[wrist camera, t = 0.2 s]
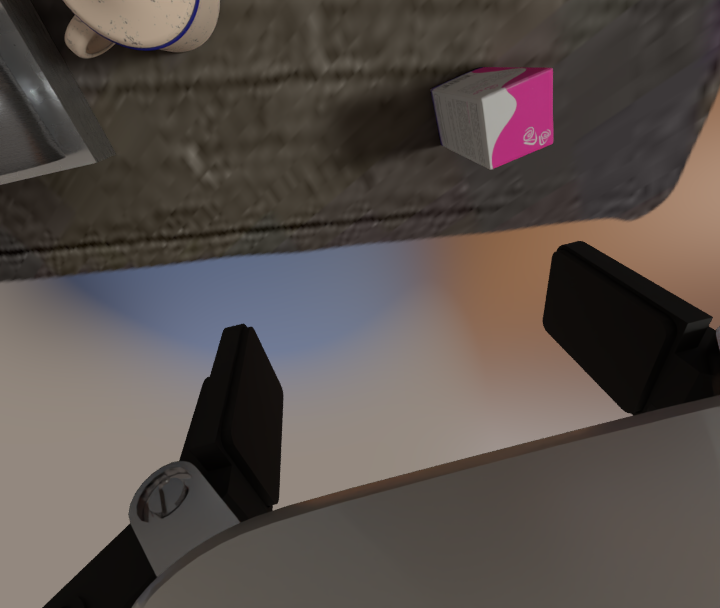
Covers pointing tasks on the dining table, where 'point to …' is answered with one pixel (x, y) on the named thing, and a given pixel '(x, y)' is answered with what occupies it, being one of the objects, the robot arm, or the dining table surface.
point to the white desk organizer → (40, 103)
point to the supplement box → (495, 113)
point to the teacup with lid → (139, 25)
